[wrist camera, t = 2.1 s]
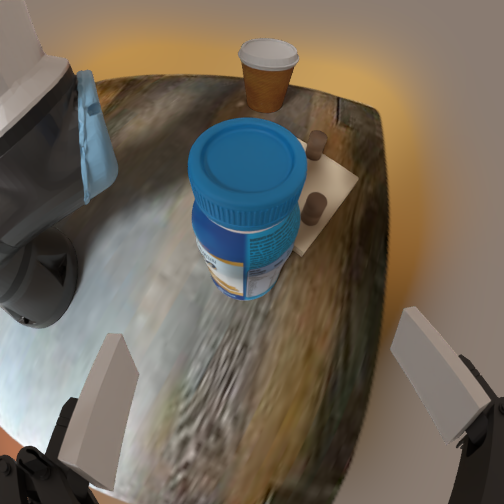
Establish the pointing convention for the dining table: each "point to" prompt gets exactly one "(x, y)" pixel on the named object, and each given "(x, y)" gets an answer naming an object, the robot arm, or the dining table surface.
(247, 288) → the beverage bottle
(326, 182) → the peg board
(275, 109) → the disposable coffee cup
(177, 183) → the dining table surface
